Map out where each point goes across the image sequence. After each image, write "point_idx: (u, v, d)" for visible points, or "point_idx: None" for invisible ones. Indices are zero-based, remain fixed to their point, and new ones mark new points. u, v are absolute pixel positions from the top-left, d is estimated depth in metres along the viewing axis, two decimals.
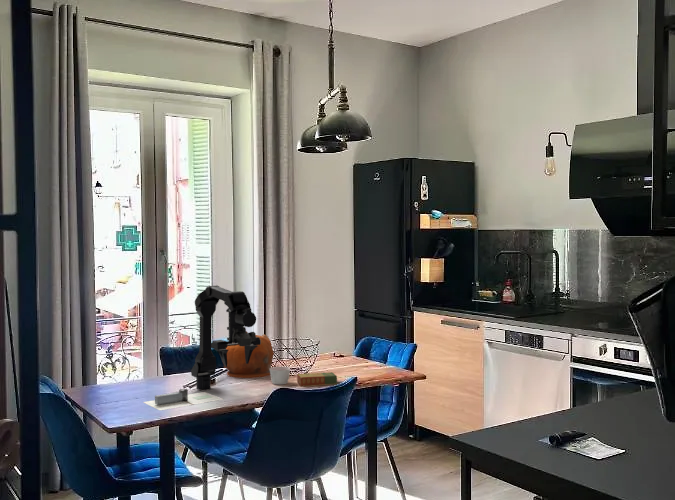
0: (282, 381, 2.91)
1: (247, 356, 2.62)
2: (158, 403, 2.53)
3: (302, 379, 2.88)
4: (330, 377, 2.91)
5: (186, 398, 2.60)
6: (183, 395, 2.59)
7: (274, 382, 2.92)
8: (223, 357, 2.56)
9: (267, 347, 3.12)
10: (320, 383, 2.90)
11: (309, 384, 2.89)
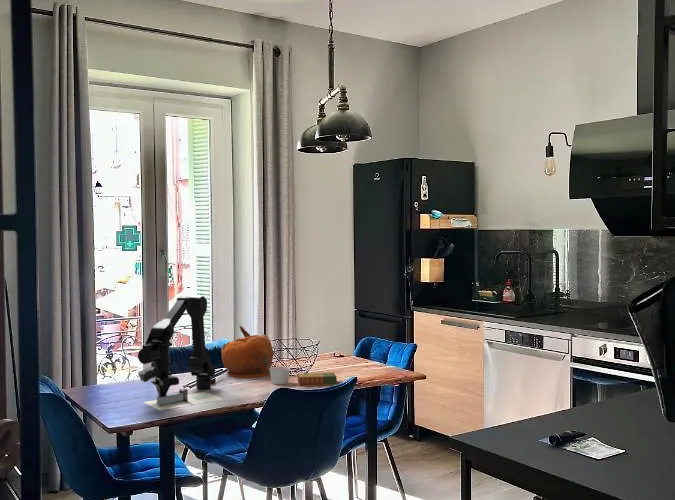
0: (282, 381, 2.91)
1: None
2: (161, 404, 2.52)
3: (301, 379, 2.88)
4: (329, 377, 2.90)
5: (186, 398, 2.60)
6: (184, 395, 2.59)
7: (274, 382, 2.92)
8: None
9: (267, 347, 3.12)
10: (319, 383, 2.90)
11: (308, 384, 2.89)
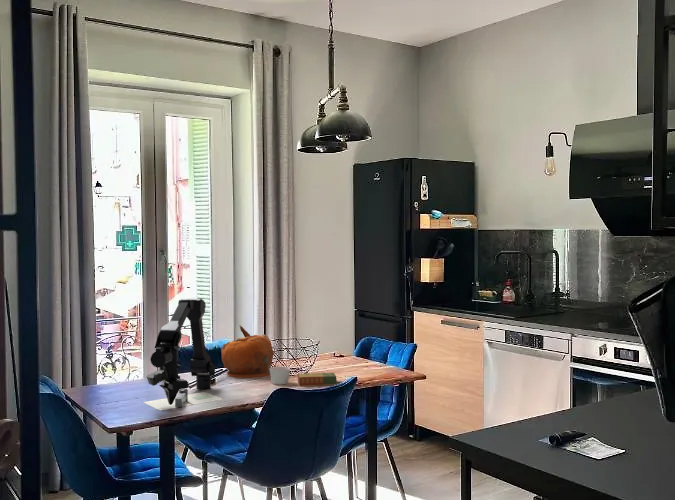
0: (282, 381, 2.91)
1: None
2: (181, 405, 2.50)
3: (301, 379, 2.88)
4: (329, 377, 2.90)
5: None
6: (186, 394, 2.60)
7: (274, 382, 2.92)
8: None
9: (267, 347, 3.12)
10: (319, 383, 2.89)
11: (308, 384, 2.89)
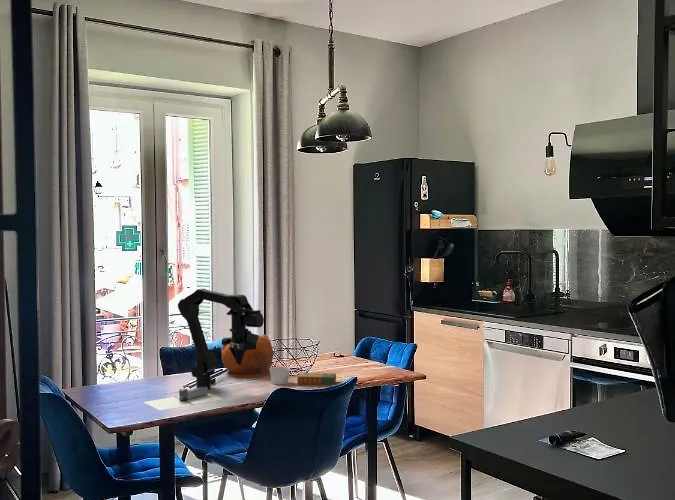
0: (282, 381, 2.91)
1: None
2: None
3: (299, 378, 2.89)
4: (327, 378, 2.89)
5: None
6: None
7: (274, 382, 2.92)
8: (241, 356, 2.73)
9: (267, 347, 3.12)
10: (317, 383, 2.89)
11: (306, 384, 2.89)
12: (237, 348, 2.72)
